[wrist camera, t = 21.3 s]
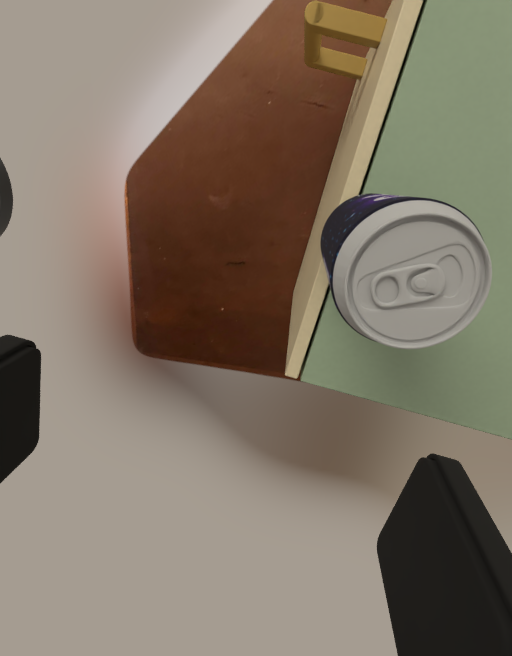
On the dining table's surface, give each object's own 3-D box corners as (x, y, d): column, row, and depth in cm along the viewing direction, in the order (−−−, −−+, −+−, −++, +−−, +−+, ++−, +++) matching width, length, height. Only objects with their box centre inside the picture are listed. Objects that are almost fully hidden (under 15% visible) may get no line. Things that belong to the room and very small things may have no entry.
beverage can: (414, 272, 24) (507, 345, 13) (328, 290, 25) (346, 370, 14) (405, 182, 22) (503, 178, 11) (312, 205, 24) (319, 222, 12)
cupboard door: (253, 281, 51) (213, 355, 28) (309, 56, 41) (316, -101, 19) (300, 294, 51) (297, 379, 28) (368, 71, 41) (446, -68, 18)
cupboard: (302, 294, 51) (300, 381, 28) (369, 72, 41) (451, -70, 18) (429, 329, 50) (532, 445, 28) (529, 113, 40) (815, 19, 18)
